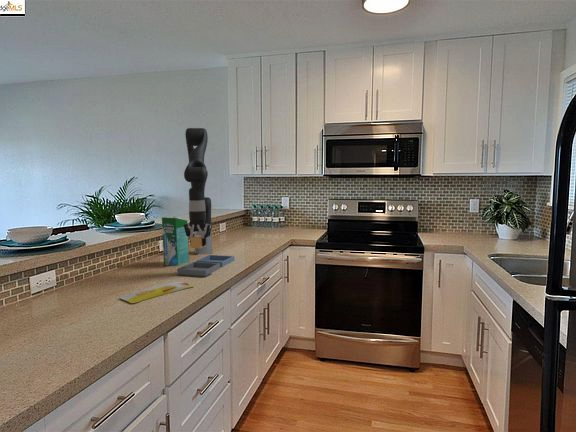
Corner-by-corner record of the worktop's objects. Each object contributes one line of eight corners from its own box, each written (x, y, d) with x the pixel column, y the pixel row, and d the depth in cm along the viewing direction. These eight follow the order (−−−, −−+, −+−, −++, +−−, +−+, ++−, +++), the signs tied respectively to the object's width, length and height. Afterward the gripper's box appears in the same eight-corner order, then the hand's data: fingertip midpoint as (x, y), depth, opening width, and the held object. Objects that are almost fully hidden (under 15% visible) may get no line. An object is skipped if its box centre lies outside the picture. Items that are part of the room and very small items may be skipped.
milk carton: (189, 263, 196) (187, 216, 193) (177, 266, 187) (175, 217, 185) (175, 261, 199) (173, 215, 197) (163, 265, 191) (161, 217, 189)
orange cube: (191, 247, 173) (190, 237, 173) (196, 245, 178) (196, 235, 178) (200, 248, 172) (200, 237, 172) (205, 246, 177) (205, 235, 176)
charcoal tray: (177, 275, 171) (177, 268, 171) (193, 267, 185) (193, 261, 185) (205, 277, 167) (205, 270, 167) (220, 269, 181) (220, 263, 181)
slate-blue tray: (196, 266, 188) (195, 260, 187) (209, 260, 202) (209, 254, 201) (222, 268, 184) (222, 262, 183) (234, 261, 198) (234, 256, 197)
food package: (131, 300, 132) (118, 294, 138) (131, 306, 132) (118, 300, 139) (195, 283, 153) (181, 278, 159) (195, 288, 153) (181, 284, 160)
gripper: (179, 210, 172) (180, 246, 173) (207, 210, 168) (208, 247, 170) (187, 209, 179) (189, 243, 181) (214, 209, 175) (215, 245, 177)
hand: (198, 245), depth 175 cm, fingers closed on orange cube, 5 cm apart
